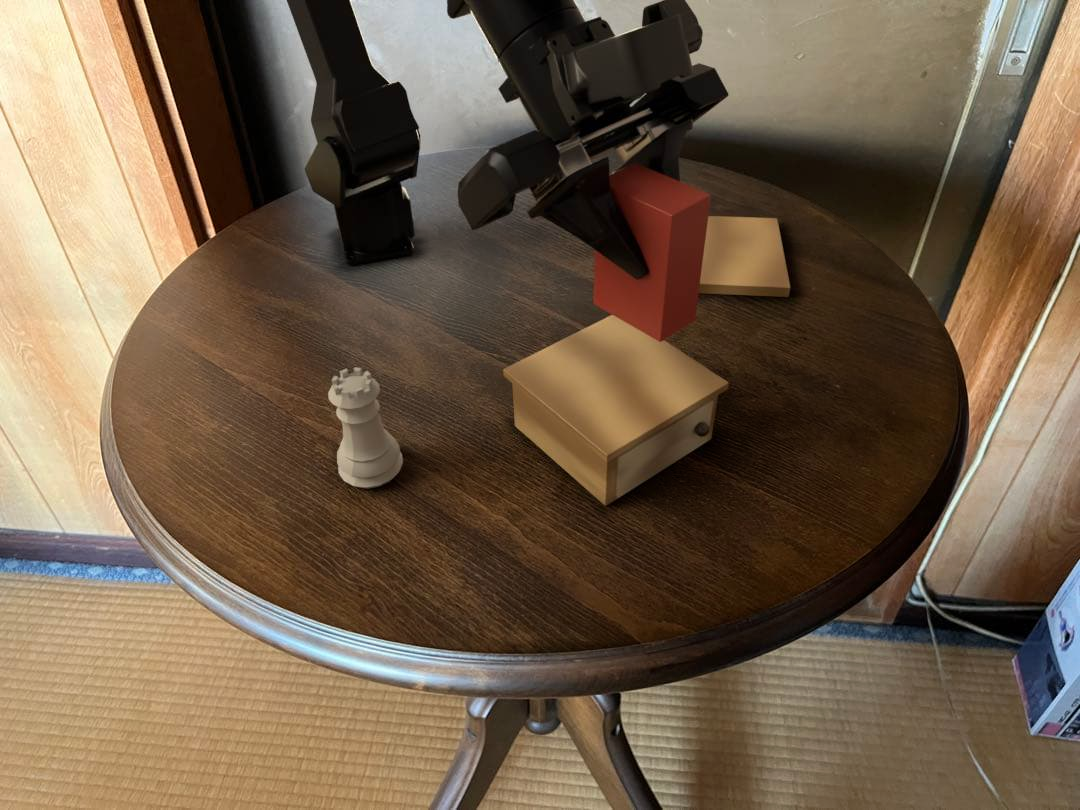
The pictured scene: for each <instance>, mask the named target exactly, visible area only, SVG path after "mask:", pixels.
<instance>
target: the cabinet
mask: <svg viewBox="0 0 1080 810" xmlns="http://www.w3.org/2000/svg"><path fill="white" fill-rule="evenodd" d="M502 372H503V373H502V374H503V377H504V378H505V379H506V380H508V381H509V382H510V383H511V386H512V403H513V413H514V414H513V417H514V427H516V429H518V430H519V431H520V432H521V433H522V434H523V435H524V436H525V437H527V439H529V440H530V441H531V442H532V443H533V444H534V445H536V446H537V447H538V448H539V449H540V450H541V451H543V452H544V453H545V454H546V455H547V456H548V457H549V458H550V459H551V460H553V461H554V462H555V463H556V464H557V465H559V466H560V467H561V468H562V469H563V470H564V471H565V472H566V473H567V474H569V476H571V477H572V478H573V479H574V480H575V481H576V482H578V483H579V484H580V485H581V486H582V487H583V488H584V489H585V490H587V492H589V493H590V494H591V495H593V497H594V498H596V499H597V500H598V501H599V502H600V503H601V504H603V505H604V506H606V507H607V506H608V505H610V504H611V503H613V502H615V501H616V500H617V499H619V498H621V497H622V496H624V495H625V494H627V493H629V492H631V491H632V490H634V489H635V488H637V487H639V485H641V484H643V483H644V482H646V481H648V480H649V479H650V478H652V477H654V476H655V475H657V474H658V473H660V472H661V471H664V470H665V469H667V468H668V467H669V466H672V464H675V463H676V462H677V461H679V460H680V459H682V458H684V457H685V456H687V455H688V454H690V453H692V452H693V451H695V450H697V449H698V448H700V447H701V446H703V445H704V444H706V443H707V442H709V441H711V440H712V437H713V430H714V425H715V423H714V422H715V417H716V411H717V404H718V398H719V395H721V394H722V393H724V392H725V391H727V390H728V389H729V383H730V382H728V381H727V380H725V379H724V378H722V377H721V376H719V375H718V374H716V373H715V372H713V371H712V370H710V369H709V368H707V367H706V366H704V365H703V364H701V363H700V362H698V361H697V360H695V359H694V358H692V357H691V356H689V355H688V354H686V353H685V352H683V351H682V350H680V349H679V348H677V347H675V346H674V345H672V344H671V343H670V342H668V341H666V339H665V340H663V341H662V342H659V341H657V340H656V339H654V338H652V337H650V336H649V335H647V334H645V333H643V332H642V331H640V330H638V329H636V328H635V327H633V326H631V325H630V324H628V323H626V322H624V321H623V320H621V319H619V318H617V317H616V316H614V315H612V314H610V315H609V316H606V317H605V318H603V319H601V320H599V321H597V322H595V323H593V324H591V325H589V326H587V327H585V328H583V329H581V330H579V331H577V332H575V333H573V334H571V335H569V336H567V337H565V338H563V339H561V340H559V341H557V342H555V343H553V344H551V345H549V346H547V347H545V348H543V349H541V350H539V351H537V352H535V353H533V354H531V355H529V356H527V357H525V358H523V359H521V360H519V361H517V362H515V363H513V364H511V365H509V366H507V367H505V368H504V369H503V370H502Z"/></svg>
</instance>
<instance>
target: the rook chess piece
mask: <svg viewBox="0 0 1080 810" xmlns="http://www.w3.org/2000/svg"><path fill="white" fill-rule="evenodd" d="M339 375H340V377H339V376H337V375H333V377H332V378H331V380H330V381H331V387H330V389H329V390H328V395H327V396H328V397H327V398H328V400H329V401H330V403H331V404H332V405H333V406H335V407H336V409H335V412H336V417H337V418H338V420H340V421H341V425H342V439H341V441H340V443H339V447H338V449H337V450H336V465H337V469H338V475H339V476H340V477H341V479H342V480H343V482H345V483H347V484H349V485H351V486H353V487H355V488H358V489H366V490H370V489H373V488H374V489H375V488H379V487H383V486H384V485H386V484H388V483H390V482H391V481H392V480H393V479H395V477H396V476H397V475H398V474H399V473H400V471H401V469H402V466H403V464H404V459H403V453H402V452H401V449H400V444H399V442H398V441H397V440H396V439H395V437H394V436H393V435H392V434H390V432H389V431H388V430H387V429H385V428H384V424H383V422H382V420H381V418H380V415H379V411H380V409H381V406H380V405H381V404H380V401H378V399H377V397H378V395H379V394H380V392H381V390H380V389H381V388H380V383H378V382H377V380H376V379H375V378H373V377H372V373H370V372H369V371H368V370H366V371H365V372H363V368H362V367H353V372H352V373H349V370H348V368H344V369H342V370H340V371H339Z"/></svg>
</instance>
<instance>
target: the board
mask: <svg viewBox="0 0 1080 810" xmlns="http://www.w3.org/2000/svg"><path fill="white" fill-rule="evenodd" d="M783 246H784V245H783V241H782V236H781V231H780V225H779V221H778V218H777V217H752V216H749V217H748V216H723V215H721V216H719V215H708V223H707V231H706V239H705V247H704V255H703V263H702V271H701V279H700V286H699V294H707V295H710V294H711V295H731V296H733V295H734V296H753V297H777V298H789V297H790V293H791V282H790V278H789V277H790V276H789V272H788V267H787V261H786V257H785V252H784V247H783Z"/></svg>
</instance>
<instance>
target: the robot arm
mask: <svg viewBox="0 0 1080 810" xmlns="http://www.w3.org/2000/svg"><path fill="white" fill-rule="evenodd" d="M286 4H287V5H288V8H289V12H290V14H291V16H292V19H293V23H294V24H295V27H296V30H297V33H298V36H299V38H300V42H301V43H302V46H303V49H304V53H305V55H306V57H307V60H308V63H309V66H310V68H311V71H312V74H313V77H314V79H315V83H316V86H315V92H314V98H313V104H312V110H311V116H310V124H311V127H312V130H313V133H314V137H315V140H316V143H317V144H316V146H315V147H314V150H313V151H312V153H311V155H310V157H309V158H308V161H307V163H306V164H305V167H304V172H305V175H306V178H307V180H308V182H309V185H310V188H311V190H312V192H313V193H314V194H316V195H318V196H319V197H320V198H323V199H324V200H325V201H327V202H328V203H330V204H332V205H333V209H334V214H335V218H336V224H337V229H336V231H337V237H338V240H339V243H340V247H341V248H340V249H341V251H342V255H343V259H344V263H345V264H346V265H348V266H350V265H355V264H361V263H367V262H372V261H378V260H385V259H388V258H389V259H391V258H394V257H399V256H405V255H410V254H412V253H414V252H415V246H414V243H413V241H412V239H414V238H415V237H416V233H415V225H414V218H413V211H412V203H411V199H410V195H409V194H408V191H407V188H405V187H404V186H402V182H404V181H407V180H409V179H411V180H412V179H414V178H416V177H417V175H418V166H419V160H420V159H419V158H420V151H421V133H420V130H419V129H420V126H419V124H418V122H417V120H416V118H415V117H414V113H413V111H412V108H411V105H410V101H409V96H408V92H407V90H406V88H405V87H404V86H403V84H402V83H401V82H400V81H397V80H396V81H394V82H390V81H389V80H388V79H387V77H386V76H384V74H382V73H381V72H380V71H379V70H378V69H377V68H376V67H375V65H374V64H373V62H372V60H371V57H370V54H369V50H368V47H367V45H366V41H365V39H364V36H363V33H362V30H361V26H360V24H359V22H358V18H357V15H356V12H355V10H354V6H353V3H352V0H286ZM446 14H447V16H448V18H449V19H452V20H454V19H459V18H461V17H465V16H468V15H472V17H473V19H474V21H475V22H476V24H477V26H478V28H479V29H480V31H481V33H482V35H483V37H484V38H485V40H486V42H487V44H488V46H489V48H490V50H491V51H492V53H493V55H494V57H495V58H496V60H497V62H498V63H499V66H500V68H501V69H502V71H503V73H504V75H505V77H506V78H505V80H504V81H503V82H502V83H501V85H500V86H499V87H498V92H499V93H500V94H501V96H502V98H503V100H504V102H505V104H508V103H510V102H513V101H516V100H519V102H520V104H521V105H522V107H523V109H524V111H525V113H526V114H527V116H528V118H529V120H530V122H531V123H532V125H533V127H534V130H532V131H530V132H527V133H525V134H522V135H520V136H517V137H515V138H511V139H510V140H507V141H505V142H503V143H500V144H498V145H495V146H492V147H490V148H488V150H487V151H486V152H485V153H484V154H483V155H482V156H481V157H480V159H479V160H478V161H477V162H475V164H474V165H473V167H472V168H470V169H469V170H468V172H466V173H465V175H464V176H463V177H462V178H461V180H459V182H458V185H457V200H458V207H459V209H460V210H461V212H462V215H463V216H464V217H465V219H466V221H467V223H468V224H469V226H470V228H471V230H473V231H477V230H478V229H481V228H483V227H486V226H487V225H490V224H491V223H494V222H496V221H498V220H500V219H503V218H505V217H507V216H509V215H510V214H511V213H513V210H514V206H515V201H516V196H517V194H520V193H521V192H524V191H526V190H528V189H529V190H530V193H531V196H532V197H533V199H534V201H535V204H533V206H532V207H530V209H528V210H527V211H526V214H527V215H528V217H529V218H530V219H531V220H533V219H537V218H538V217H542V218H544V219H545V220H547V221H549V222H550V223H552V224H554V225H555V226H557V227H559V228H561V230H564V231H566V232H567V233H569V234H571V235H572V236H574V237H576V238H577V239H579V240H580V241H582V242H583V243H584V244H586V245H588V246H589V247H590V248H592V249H593V250H594V251H595V250H596V251H597V252H599V253H600V254H602V255H603V256H604V257H606V258H607V259H609V260H610V261H611V262H613V263H614V264H615V265H617V266H618V267H620V268H621V269H622V270H624V271H625V272H626V273H628V274H629V275H631V276H632V277H633V278H635V279H637V280H639V279H641V278H643V277H645V276H646V275H648V274H649V268H648V266H647V263H646V261H645V258H644V256H643V253H642V251H641V249H640V247H639V245H638V243H637V241H636V239H635V237H634V235H633V233H632V231H631V230H630V228H629V226H628V224H627V222H626V220H625V218H624V216H623V214H622V212H621V211H620V209H619V207H618V205H617V203H616V201H615V199H614V197H613V195H612V193H611V190H610V174H612V173H615V172H617V171H619V170H621V169H623V168H625V167H627V166H629V165H632V164H634V163H637V164H640V165H642V166H644V167H647V168H649V169H651V170H654V171H656V172H658V173H661V174H663V175H665V176H668V177H670V178H672V179H675V180H677V181H679V182H681V175H680V154H681V151H682V148H683V144H684V141H685V136H686V135H687V134H688V133H690V132H691V131H692V130H693V128H694V123H695V122H697V121H699V120H700V119H701V118H702V117H703V116H704V115H706V114H707V113H709V112H710V111H711V110H712V109H714V108H715V107H716V106H718V105H719V104H720V103H721V102H723V101H724V100H725V99H727V98H728V97H729V91H728V90H727V88H726V87H725V85H724V83H723V80H722V79H721V77H720V75H719V73H718V71H717V69H716V68H715V67H712V66H710V65H706V64H703V63H700V62H697V63H696V64H692V59H691V56H690V55H692V54H693V53H696V52H698V51H699V50H700V49H701V46H702V44H703V37H704V35H703V34H704V33H703V28H702V26H701V25H700V24H699V20H698V17H697V16H696V14H695V13H694V11H693V10H692V8H691V7H690V5H689V4H688V2H687V1H686V0H661V1H658V2H655V3H652V4H650V5H647V6H644V8H643V10H642V18H641V26H639V27H637V28H634V29H631V30H629V31H626V32H623V33H620V34H617V35H616V34H615V33H614V31H613V29H612V27H611V26H610V24H609V23H608V21H607V20H605V19H602V17H601V16H598V17H595V18H592V19H589V20H586V19H585V17H584V15H583V14H582V11H581V10H580V8H579V5H578V4H577V3H576V0H446ZM635 101H636V102H635ZM634 102H635V103H634ZM633 103H634V104H633ZM632 104H633V105H632ZM614 150H615V152H616V154H617V156H618V157H619V159H620V161H621V163H622V164H621V165H620V166H618V167H616V169H614V170H613V171H612V172H611V171H610V158H609V156H606V157H604V158H602V159H599V160H597V161H596V162H593V161H592V160H594V159H596V158H599V157H601V156H604V155H606V154H608V153H610V152H612V151H614Z"/></svg>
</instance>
